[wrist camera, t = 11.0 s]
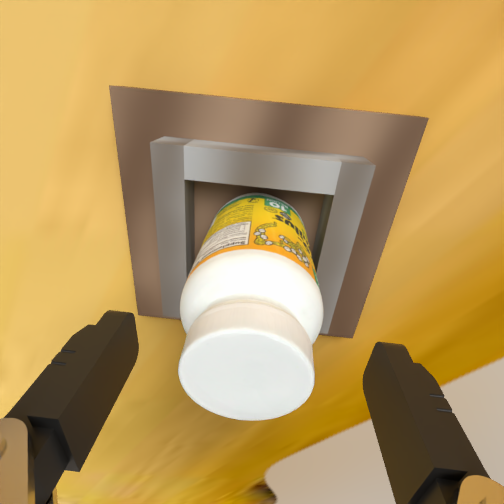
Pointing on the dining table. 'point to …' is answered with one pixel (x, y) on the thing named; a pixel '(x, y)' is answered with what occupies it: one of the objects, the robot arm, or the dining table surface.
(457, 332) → the dining table surface
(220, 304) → the supplement bottle
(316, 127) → the socket holder
